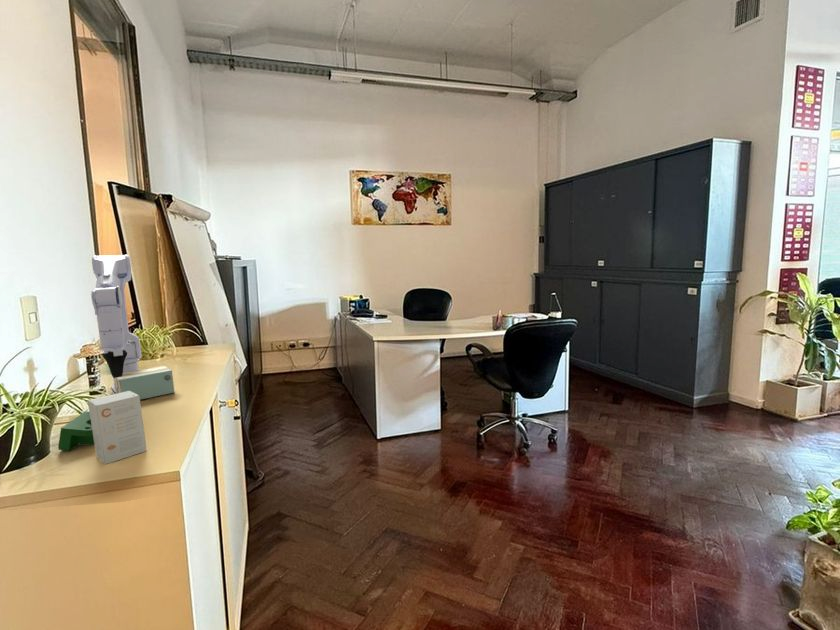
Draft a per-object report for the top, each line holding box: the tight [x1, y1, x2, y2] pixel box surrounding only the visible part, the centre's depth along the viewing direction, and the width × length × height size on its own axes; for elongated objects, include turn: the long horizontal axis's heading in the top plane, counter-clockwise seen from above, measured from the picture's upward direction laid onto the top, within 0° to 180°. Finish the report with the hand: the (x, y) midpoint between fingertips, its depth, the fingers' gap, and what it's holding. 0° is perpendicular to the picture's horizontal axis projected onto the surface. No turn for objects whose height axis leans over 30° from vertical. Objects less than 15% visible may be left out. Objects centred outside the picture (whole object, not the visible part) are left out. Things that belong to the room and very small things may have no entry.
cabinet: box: [115, 365, 171, 394], centre depth 140 cm, size 10×14×7 cm
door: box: [120, 369, 175, 401], centre depth 136 cm, size 2×14×7 cm, turn 133°
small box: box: [87, 391, 147, 465], centre depth 97 cm, size 8×6×13 cm
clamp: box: [57, 410, 95, 452], centre depth 105 cm, size 12×6×9 cm, turn 9°
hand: (117, 376), depth 126 cm, fingers closed
